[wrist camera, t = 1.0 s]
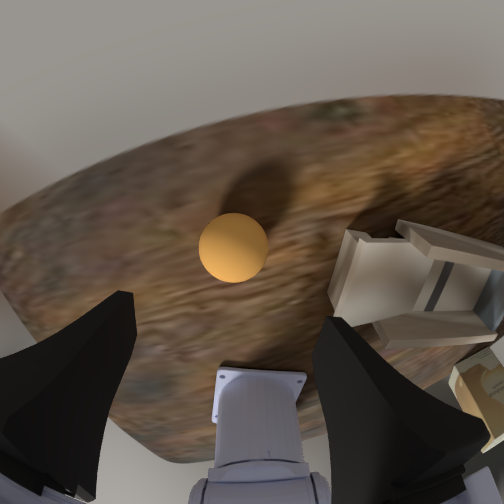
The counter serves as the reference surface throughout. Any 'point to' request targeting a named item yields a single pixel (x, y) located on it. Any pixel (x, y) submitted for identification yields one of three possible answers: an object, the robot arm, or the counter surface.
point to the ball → (233, 247)
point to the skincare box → (481, 391)
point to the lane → (420, 286)
